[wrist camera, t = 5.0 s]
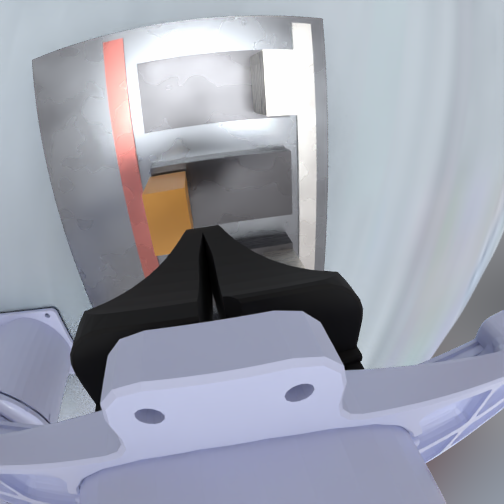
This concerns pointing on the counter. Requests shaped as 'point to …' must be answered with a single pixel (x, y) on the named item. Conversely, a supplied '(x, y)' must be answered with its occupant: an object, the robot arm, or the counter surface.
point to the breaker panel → (188, 139)
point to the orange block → (167, 210)
